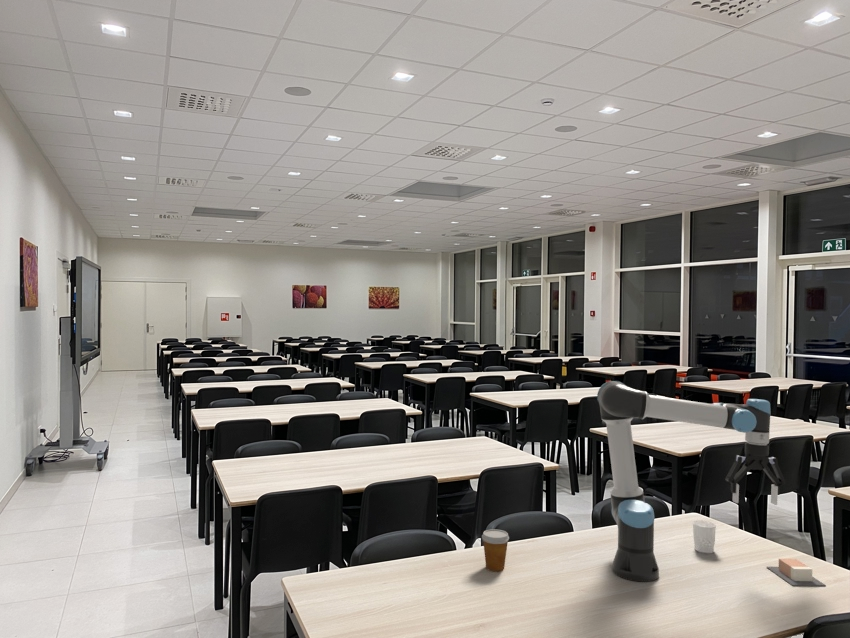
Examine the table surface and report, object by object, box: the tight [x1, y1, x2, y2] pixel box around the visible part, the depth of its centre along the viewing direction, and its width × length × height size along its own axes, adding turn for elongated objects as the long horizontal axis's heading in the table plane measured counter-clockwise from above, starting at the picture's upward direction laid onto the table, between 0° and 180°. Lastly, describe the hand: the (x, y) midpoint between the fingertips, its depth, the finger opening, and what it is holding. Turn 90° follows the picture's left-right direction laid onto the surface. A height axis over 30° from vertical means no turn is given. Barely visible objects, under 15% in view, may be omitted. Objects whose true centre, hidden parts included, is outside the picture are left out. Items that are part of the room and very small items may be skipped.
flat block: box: [778, 558, 813, 581], centre depth 208 cm, size 9×6×4 cm, turn 0°
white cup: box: [692, 520, 717, 554], centre depth 232 cm, size 8×8×10 cm
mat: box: [766, 566, 827, 587], centre depth 208 cm, size 11×15×1 cm
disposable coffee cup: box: [481, 529, 510, 572], centre depth 213 cm, size 10×10×12 cm
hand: (754, 503), depth 216 cm, fingers open, 13 cm apart
